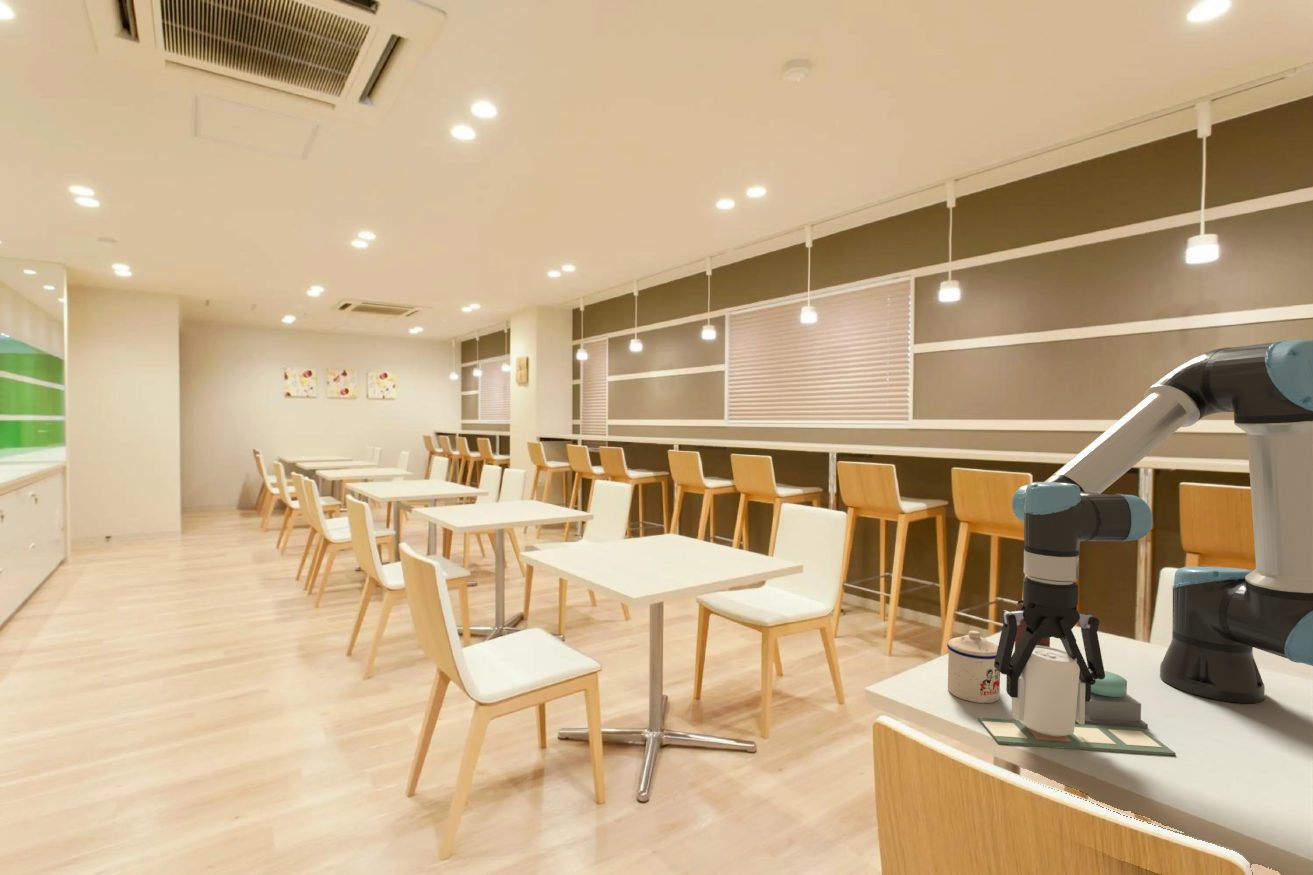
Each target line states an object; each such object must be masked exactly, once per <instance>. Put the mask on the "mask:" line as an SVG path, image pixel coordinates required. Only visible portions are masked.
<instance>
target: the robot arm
mask: <svg viewBox="0 0 1313 875" xmlns="http://www.w3.org/2000/svg"><path fill="white" fill-rule="evenodd" d="M1226 412H1227V413H1233V421H1234V422H1233V424H1234V425H1235V426H1237V427H1238V428H1239V429H1241V430H1242V431H1243V432H1245V434H1246V438H1247V441H1246V442H1247V452H1248V467H1249V480H1250V482H1249V483H1250V498H1251V512H1252V513H1251V514H1252V523H1253V524H1252V526H1253V527H1252V528H1253V540H1254V543H1253V544H1254V554H1255V556H1254V557H1255V559H1254V560H1255V569H1254V570H1250V569H1246V568H1239V567H1238V568H1237V567H1236V568H1235V567H1222V566H1184V567H1180V568H1178V569H1177V570H1176V571H1175V572H1174V576H1173V577H1174V578H1173V585H1172V589H1171V590H1172V637H1171V641H1170V644H1169V646H1168V648H1167V650H1166V652H1165V655H1164V657H1163V659H1162V661H1161V663H1160V666H1159V678H1160V679H1161V680H1162V681H1163V682H1165V683H1166V684H1167V685H1170V686H1171V687H1173V688H1175V689H1178V690H1181V691H1183V692H1187V693H1189V694H1191V695H1196V696H1200V697H1204V698H1208V699H1213V700H1217V701H1222V702H1231V703H1240V704H1253V703H1255V704H1256V703H1261V702H1263V700H1265V695H1266V694H1265V692H1266V691H1265V684H1264V681H1263V679H1262V675H1261V673H1260V671H1259V667H1258V666H1257V665H1258V664H1257V663H1256V660H1255V658H1254V653H1253V651H1254V650H1253V648H1254V649H1257V650H1261V651H1263V652H1266V653H1269V654H1272V655H1276V656H1278V657H1281V658H1284V659H1286V660H1287V659H1288V660H1289V661H1291V662H1293V663H1298V664H1305V665H1308V666H1312V667H1313V339H1295V340H1289V339H1288V340H1286V339H1283V340H1280V341H1275V342H1265V343H1258V344H1257V343H1256V344H1251V345H1250V344H1249V345H1242V346H1233V347H1231V346H1230V347H1222V348H1215V349H1213V350H1210V351H1206V352H1204V353H1201V354H1199V355H1196V356H1194V357H1193V358H1191V359H1188V360H1187V361H1185V362H1184V363H1183V362H1182V363H1181V364H1180V365H1178V366H1177V367H1175V368H1174V369H1173V370H1170V371H1168V373H1166V374H1165V375H1163V376H1162V377H1161V378H1159V379H1158V380H1157V381H1156V382H1155V383H1153V384H1151V386H1149V387H1148V388H1147V389H1146V390H1145V391H1144V394H1143V400H1141V401H1140V402H1139V403H1138V404H1137V405H1136V406H1134V407H1133V408H1132V409H1131V410H1129V411H1128V412H1127V413H1126V414H1124V415H1123V416H1122V417H1121V418H1120V419H1119V420H1118V421H1116V422H1114V424H1112V425H1111V426H1110V427H1109V428H1107V429H1106V430H1105V431H1104V432H1103V433H1101V434H1100V435H1099V436H1098V437H1097V438H1096V439H1094V440H1093V441H1092V442H1091V443H1090V444H1088V445H1086V447H1084V448H1083V449H1082V450H1081V451H1080V452H1079V453H1077V454H1076V455H1074V457H1073V458H1072V459H1070V460H1069V461H1068V462H1066V463H1065V464H1063V465H1062V467H1060V468H1058V470H1057V471H1055V472H1054V473H1053V474H1052V475H1051V476H1050V477H1048V478H1047V479H1046V480H1044V481H1034V482H1032V483H1029V484H1026V485H1022V486H1020V487H1019V488H1018V489H1017V490H1016V491H1015V492H1014V494H1013V495H1012V498H1011V508H1012V511H1013V513H1014V516H1015V517H1016V518H1017V519H1018V520H1019V521H1021V522H1023V526H1024V528H1023V530H1024V532H1023V533H1024V534H1023V536H1024V537H1023V542H1024V543H1023V545H1024V546H1023V574H1024V575H1026V576H1025V577H1024V578H1022V579H1023V580H1022V582H1023V583H1022V600H1023V606H1022V608H1021V609H1020V611H1016V610H1014V611H1009V610H1006V609H1004V610H1002V611H1001V618H1002V628H1001V631H1000V636H999V642H998V645H997V646H998V649H997V654H996V658H995V662H994V667H995V668H996V669H997V670H998V671H999V672H1000V674H1001V675H1005V676H1006V686H1005V687H1006V690H1005V691H1006V693H1007V695H1009V696H1010V698H1011V714H1012V715H1013V716H1014V717H1016V720H1023V721H1024V694H1025V680H1024V679H1023V678H1022V677H1020V675H1021V673H1022V671H1023V669H1024V667H1025V665H1026V664H1027V662H1028V660H1029V658H1030V656H1031V654H1032V652H1033V650H1034V648H1035V646H1036V645H1037V643H1039V642H1040V641H1041V639H1042V638H1049V637H1050V638H1055V639H1059V640H1060V642H1061V643H1062V646H1063V648H1064V651H1065V652H1067V654H1068V655H1069V656H1070V657H1071V658H1072V659H1075V658H1076V659H1077V664H1078V665H1079V668H1080V673H1079V684H1078V695H1077V706H1076V717H1075V721H1077V722H1078V723H1079V724H1085V702H1089V701H1090V699H1091V685H1093V684H1095V682H1096V681H1095V680H1096V679H1104V678H1105V672H1104V671H1105V668H1104V662H1103V657H1102V652H1101V647H1100V640H1099V636H1098V635H1099V634H1098V630H1099V627H1100V626H1099V625H1100V620H1099V618H1097V617H1095V616H1094V615H1092V614H1090V613H1088V612H1087V613H1085V612H1084V613H1080V612H1079V610H1078V605H1079V585H1078V584H1077V582H1076V581H1078V580H1079V574H1080V573H1079V570H1080V569H1079V568H1080V567H1079V565H1080V546H1081V545H1080V544H1081V542H1120V543H1124V542H1127V541H1128V542H1129V541H1138V540H1140V539H1143V538H1145V537H1146V536H1147V535H1148V534H1149V533H1150V532H1151V529H1152V528H1153V527H1152V526H1153V513H1152V509H1151V508H1150V507H1149V505H1148V503H1147V502H1146V501H1145V500H1144V499H1142V498H1141V497H1139V496H1137V495H1134V494H1124V493H1115V494H1105V493H1104V491H1105V490H1107V488H1109V487H1110V486H1112V484H1114V483H1115V482H1116V481H1117V480H1119V479H1120V478H1121V477H1122V476H1123V475H1125V474H1126V473H1127V472H1128V471H1129V470H1131V469H1132V468H1133V467H1135V465H1137V464H1139V462H1140V461H1142V460H1143V459H1144V458H1145V457H1146V456H1148V455H1149V454H1150V453H1151V452H1152V451H1154V450H1155V449H1156V448H1157V447H1158V446H1160V445H1161V444H1162V443H1164V441H1166V440H1167V439H1168V438H1169V437H1170V436H1172V435H1173V434H1174V433H1175V432H1176V431H1178V430H1179V429H1180V428H1187V427H1191V426H1193V425H1195V424H1196V423H1197V422H1198V421H1200V420H1202V418H1204V417H1206V416H1210V415H1213V414H1218V413H1226ZM1021 619H1024V621H1025V622H1026V624H1027V625H1026V627H1025V629H1024V630H1023V636H1022V638H1021V640H1020V642H1019V644H1018V646H1017V647H1016V649H1015V639H1016V634H1017V626H1018V625H1020V620H1021ZM1077 623H1078V625H1079V626H1080V632H1081V637H1082V641H1083V650H1084V654H1085V658H1084V656H1083V654H1082V652H1081V650H1080V647H1079V646H1078V644H1077V639H1076V637H1075V635H1074V632H1073V628H1075V626H1076V625H1077ZM1033 632H1034V633H1033ZM1013 650H1014V652H1013ZM1085 659H1086V661H1085Z"/></svg>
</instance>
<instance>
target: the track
mask: <svg viewBox="0 0 1313 875" xmlns="http://www.w3.org/2000/svg"><path fill="white" fill-rule="evenodd" d="M977 720H978V721H979V723H980V724H981V725H982V727H984V729H985V730H986V731H987V732H988V733H989V735H990V736H991V737H992V738H993V739H994V741H995V742H996V743H997V744H999V745H1014V746H1030V747H1041V748H1044V747H1045V748H1059V749H1070V750H1071V749H1072V750H1088V751H1102V752H1117V753H1131V754H1132V753H1133V754H1147V755H1158V756H1159V755H1161V756H1172V757H1173V756H1175V757H1176V755H1177V754H1176V752H1175V751H1173V750H1172V749H1171V748H1170V747H1168V746H1166V745H1165V744H1164V743H1163V742H1162V741H1160V740H1159V739H1157V738H1156V737H1155V736H1154V735H1152V734H1151V733H1149V732H1148V731H1146V730H1145V728H1139V727H1123V726H1107V725H1092V724H1076V723H1075V728H1074V732H1073V733H1072V734H1071V735H1067V736H1050V735H1045V734H1042V733H1039V732H1036V731H1034V730H1032V729H1030V728H1028V727H1027V726H1025V725H1024V724H1022V723H1021V722H1020V721H1019V720H1018V719H1010V718H1009V719H1007V718H1005V719H1004V718H992V717H991V718H990V717H978V719H977Z"/></svg>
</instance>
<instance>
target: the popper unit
mask: <svg viewBox="0 0 1313 875" xmlns="http://www.w3.org/2000/svg"><path fill="white" fill-rule="evenodd" d="M1075 724H1079V723H1078V722H1077V721H1075ZM1085 724H1088V725H1104V726H1119V727H1135V728H1143V729H1149V725H1148V723H1146V722H1145V720H1142V703H1141V702H1139V701H1138V700H1136V699H1135V698H1134V697H1132V696H1131V695H1129V694H1128V693H1127V694H1126V695H1125V696H1122V697H1111V696H1097V695H1096V694H1094V693H1092V692H1091V699H1090V701H1089V702H1085Z"/></svg>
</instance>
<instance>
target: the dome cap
mask: <svg viewBox="0 0 1313 875" xmlns="http://www.w3.org/2000/svg"><path fill="white" fill-rule="evenodd" d="M1104 672H1105V678H1104V679H1096V680H1095V681H1096V682H1095V684H1093V685H1091V692H1092V693H1094V694H1096V695H1097V696H1111V697H1122V696H1125V695H1126V694H1128V681H1127V679H1126V678H1124V677H1123V676H1121V675H1119V674H1116V673H1114V672H1110V671H1106V670H1104Z"/></svg>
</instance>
